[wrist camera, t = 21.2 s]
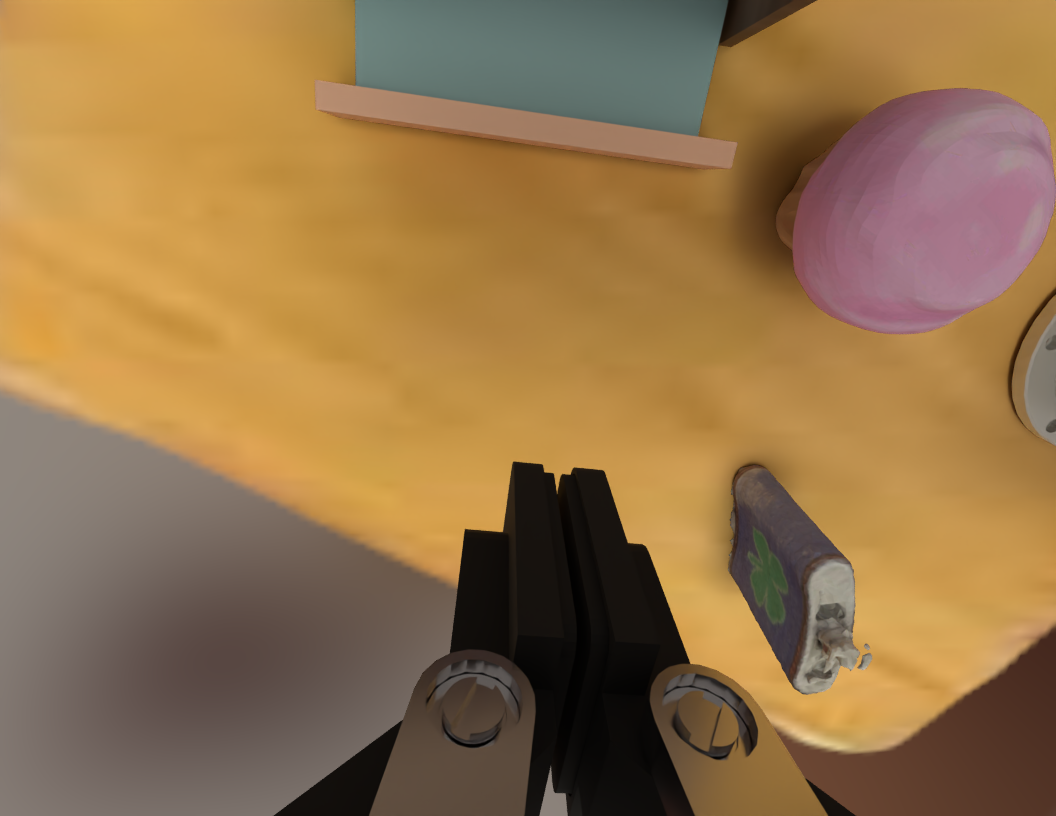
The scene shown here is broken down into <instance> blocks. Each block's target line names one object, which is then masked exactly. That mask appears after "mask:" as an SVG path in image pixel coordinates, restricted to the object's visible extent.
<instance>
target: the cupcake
mask: <svg viewBox="0 0 1056 816" xmlns="http://www.w3.org/2000/svg"><path fill="white" fill-rule="evenodd" d="M1055 197H1056V184H1055V178H1054V170H1053V160H1052V153H1051V144H1050V137H1049V133H1048V129H1047V127H1046V126H1045V124H1044V123H1043V121H1042V119H1041V118H1040V117H1038V116H1037V115H1035V114H1034V113H1033V112H1032V111H1030V110H1029V109H1027V108H1026V107H1024V106H1023V105H1021V104H1020V103H1018V102H1016V101H1014V100H1013V99H1011V98H1009V97H1007V96H1004V95H1002V94H1000V93H997V92H993V91H987V90H980V89H967V88H954V89H942V90H931V91H923V92H918V93H914V94H909V95H906V96H902V97H899V98H896V99H893V100H891V101H889V102H887V103H885V104H883V105H881V106H879V107H878V108H876V109H875V110H873V111H872V112H870V113H869V114H868V115H866V116H865V117H864V118H862V119H861V120H860V121H858V122H857V123H856V124H855V125H854V126H853V127H851V128H850V129H849V130H848V131H847V132H846V133H845V134H844V135H843V136H842V138H840V139H839V140H838V141H836V142H835V143H834V144H832V145H831V146H830V147H829V148H828V149H827V150H826V151H825V152H824V153H823V154H822V155H820V156H819V157H817V158H816V159H814V160H813V161H811V162H810V163H808V164H807V165H806V166H804V167H803V170H802V172H801V174H800V177H799V179H798V181H797V183H796V184H795V186H794V188H793V189H792V191H791V192H790V193H789V194H788V195H787V196H786V198H785V199H784V200H783V202H782V204H781V205H780V207H779V209H778V212H777V216H776V228H777V232H778V235H779V237H780V239H781V241H782V242H783V243H784V244H785V245H786V246H787V247H788V248H789V249H791V250H792V251H793V262H794V271H795V274H796V277H797V279H798V280H799V282H800V283H801V285H802V287H803V289H804V290H805V292H806V293H807V295H808V297H809V298H810V299H811V300H812V301H813V302H814V303H815V304H816V305H817V307H818V308H820V309H821V310H823V311H824V312H825V313H827V314H828V315H830V316H832V317H834V318H836V319H838V320H840V321H843V322H845V323H848V324H850V325H853V326H856V327H859V328H862V329H865V330H870V331H874V332H878V333H888V334H915V333H922V332H927V331H931V330H934V329H937V328H940V327H943V326H945V325H947V324H950V323H951V322H953V321H955V320H957V319H958V318H960V317H961V316H963V315H964V314H966V313H968V312H970V311H972V310H974V309H976V308H978V307H980V306H982V305H984V304H986V303H988V302H990V301H992V300H994V299H995V298H997V297H998V296H1000V295H1001V294H1002V293H1003V292H1004V291H1005V290H1006V289H1008V288H1009V287H1010V286H1011V285H1012V284H1013V283H1014V281H1015V280H1016V279H1017V278H1018V277H1019V276H1020V275H1021V273H1022V272H1023V271H1024V269H1025V268H1026V267H1027V266H1028V264H1029V263H1030V261H1031V260H1032V259H1033V257H1034V256H1035V254H1036V253H1037V252H1038V250H1039V248H1040V246H1041V244H1042V242H1043V240H1044V238H1045V236H1046V233H1047V229H1048V226H1049V223H1050V219H1051V217H1052V215H1053V210H1054V204H1055Z"/></svg>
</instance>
